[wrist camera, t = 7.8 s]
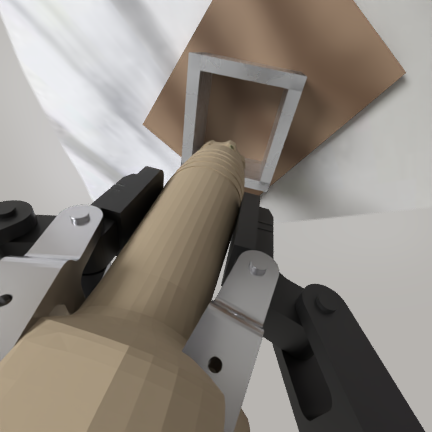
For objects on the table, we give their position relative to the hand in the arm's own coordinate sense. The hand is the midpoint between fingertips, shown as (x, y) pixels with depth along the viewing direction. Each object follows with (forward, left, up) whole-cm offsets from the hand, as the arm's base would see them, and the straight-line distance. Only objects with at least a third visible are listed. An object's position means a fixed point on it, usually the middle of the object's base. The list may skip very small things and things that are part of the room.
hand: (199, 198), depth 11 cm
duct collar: (0, 0, -17) cm, 17 cm away
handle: (0, 0, -6) cm, 6 cm away
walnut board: (-2, 0, -17) cm, 18 cm away
